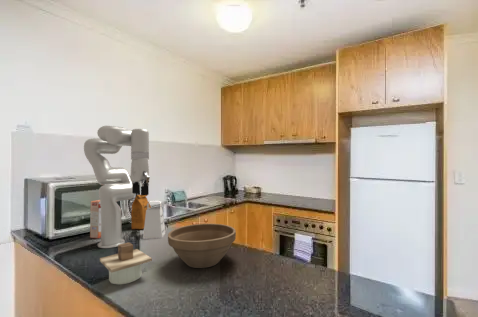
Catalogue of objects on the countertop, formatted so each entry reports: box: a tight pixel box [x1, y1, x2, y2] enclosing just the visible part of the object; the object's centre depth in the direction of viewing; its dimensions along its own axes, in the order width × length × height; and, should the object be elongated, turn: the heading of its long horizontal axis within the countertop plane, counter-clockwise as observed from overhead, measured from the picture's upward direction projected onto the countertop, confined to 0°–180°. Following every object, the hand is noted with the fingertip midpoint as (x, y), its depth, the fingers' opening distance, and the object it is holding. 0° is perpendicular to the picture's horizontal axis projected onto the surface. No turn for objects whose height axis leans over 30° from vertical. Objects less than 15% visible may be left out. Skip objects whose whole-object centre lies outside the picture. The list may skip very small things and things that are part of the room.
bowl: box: [108, 264, 143, 285], centre depth 94 cm, size 11×11×6 cm
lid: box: [99, 242, 153, 273], centre depth 94 cm, size 14×14×6 cm
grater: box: [142, 200, 166, 240], centre depth 146 cm, size 10×10×20 cm
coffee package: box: [130, 194, 152, 230], centre depth 164 cm, size 10×12×22 cm
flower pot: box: [167, 223, 237, 269], centre depth 108 cm, size 28×28×13 cm
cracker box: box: [89, 199, 101, 239], centre depth 149 cm, size 14×6×21 cm, turn 168°
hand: (140, 194), depth 114 cm, fingers open, 9 cm apart
